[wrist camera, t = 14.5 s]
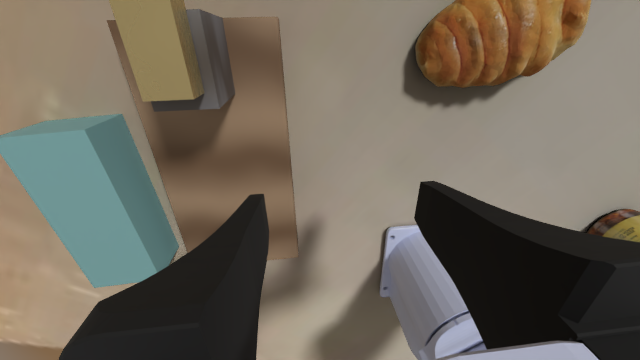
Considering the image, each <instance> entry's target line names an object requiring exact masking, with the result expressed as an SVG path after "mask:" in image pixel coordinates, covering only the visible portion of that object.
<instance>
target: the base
mask: <svg viewBox="0 0 640 360" xmlns="http://www.w3.org/2000/svg"><path fill="white" fill-rule="evenodd" d="M186 13H187V17H188V22H189V26H190V31H191V35H192V39H193V44H194V48H195V53H196V57H197V62H198V66H199V71H200V75H201V80H202V84H203V89H204V94H202V95H200V96H199V97H197V98H195V99H190V100H168V101H146V102H143V100H142V97H141V94H140V91H139V88H138V86H137V83H136V80H135V77H134V74H133V71H132V68H131V65H130V62H129V59H128V56H127V53H126V50H125V47H124V44H123V41H122V38H121V35H120V32H119V29H118V26H117V23H116V20H107V23H108V26H109V28H110V31H111V34H112V37H113V40H114V43H115V46H116V49H117V51H118V54H119V57H120V60H121V63H122V66H123V69H124V71H125V74H126V77H127V80H128V83H129V86H130V89H131V92H132V94H133V97H134V100H135V103H136V106H137V109H138V112H139V114H140V117H141V120H142V123H143V126H144V129H145V132H146V135H147V137H148V140H149V143H150V146H151V149H152V152H153V155H154V157H155V160H156V163H157V166H158V169H159V172H160V175H161V178H162V180H163V183H164V186H165V189H166V192H167V195H168V198H169V200H170V203H171V206H172V209H173V212H174V215H175V218H176V221H177V223H178V226H179V229H180V232H181V235H182V238H183V241H184V243H185V246H186V249H187V252H188V253H189V252H190V251H192V250H193V249H194V248H196V247H197V246H198V245H200V244H201V243H202V242H203V241H205V240H206V239H207V238H208V237H209V236H211V235H212V234H213V233H214V232H215V231H216V230H217V229H218V228H219V227H220V226H221V225H222V224H223V223H224V222H226V221H227V219H228V218H229V217H230V216H231V215H232V214H233V213H234V212H235V211H236V210H237V209H238V207H239V206H240V205H241V204H242V203H243V202H244V201H245V199H246V198H247V197H248V196H249V195H252V194H264V198H265V205H266V212H267V218H268V225H269V249H268V256H267V260H274V259H285V258H295V257H298V239H297V227H296V215H295V204H294V192H293V180H292V168H291V157H290V145H289V133H288V121H287V110H286V98H285V86H284V74H283V63H282V51H281V39H280V27H279V19H278V17H243V18H221V17H219V16H216V15H213V14H211V13H208V12H205V11H202V10H200V9H192V10H186Z"/></svg>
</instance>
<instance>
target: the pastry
mask: <svg viewBox="0 0 640 360" xmlns="http://www.w3.org/2000/svg"><path fill="white" fill-rule="evenodd" d="M590 4H591V0H455V1H454V2H453V3H452V4H450V5H449V6H447V7H446V8H445V9H444V10H442V11H441V12H440V13H439V14H437V15H436V16H435V17H434V18H433V19H432V20H431V21H430V22H429V24H428V25H427V26H426V28H425V29H424V30H423V31H422V33H421V34H420V36H419V38H418V40H417V43H416V46H415V51H416V60H417V64H418V66H419V68H420V69H421V71H422V73H423V75H424V76H425V77H426V78H427V79H428V80H429V81H431V82H432V83H433V84H435V85H436V86H439V87H440V86H456V87H461V88H466V87H470V86H483V85H487V86H495V85H499V84H501V83H504V82H506V81H508V80H510V79H512V78H514V77H517V76H518V75H522V76H531V75H533V74H535V73H537V72H539V71H540V70H542V69H543V68H544V67H545V66H546V65H548V64H549V62H550V61H552V60H554V59H555V58H556V57H558V56H559V55H560V54H561V53H562V52H564V51H565V50H566V49H568V48H569V47H571V46H573V45H574V44H575V43H576V42H577V40H578V39H579V38H580V37H581V35H582V33H583V31H584V28H585V25H586V23H587V19H588V14H589V10H590Z"/></svg>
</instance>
